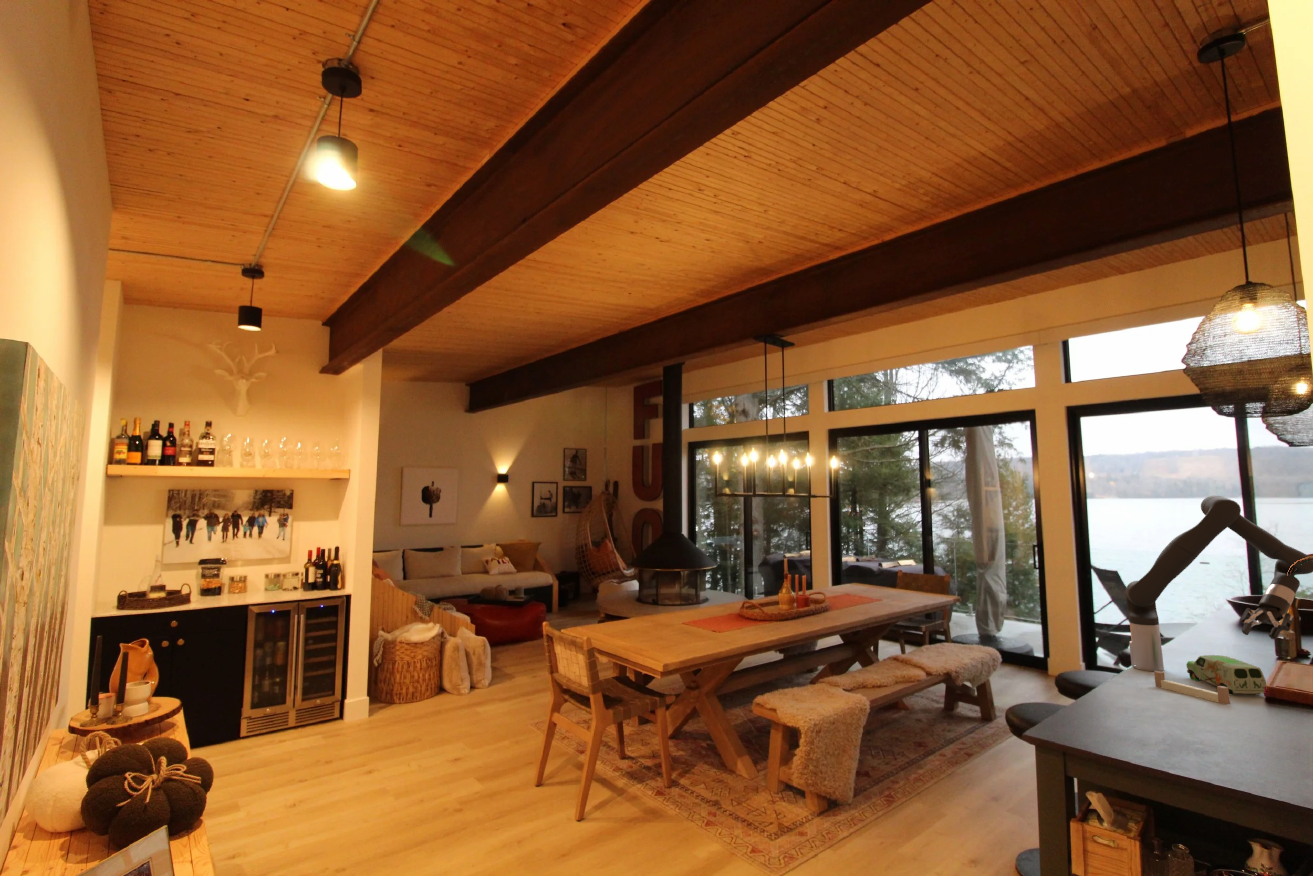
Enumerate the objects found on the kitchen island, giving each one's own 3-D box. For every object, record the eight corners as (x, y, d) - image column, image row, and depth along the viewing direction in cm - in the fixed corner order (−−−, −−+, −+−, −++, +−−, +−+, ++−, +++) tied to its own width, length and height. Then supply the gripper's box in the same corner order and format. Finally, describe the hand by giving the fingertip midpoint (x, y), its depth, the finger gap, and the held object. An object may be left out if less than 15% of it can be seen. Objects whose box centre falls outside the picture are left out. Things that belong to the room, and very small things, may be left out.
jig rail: (1155, 686, 227) (1154, 671, 228) (1159, 685, 228) (1158, 671, 228) (1225, 704, 206) (1223, 688, 207) (1230, 703, 207) (1228, 687, 207)
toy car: (1218, 677, 235) (1214, 649, 236) (1270, 698, 210) (1266, 667, 212) (1185, 677, 236) (1182, 649, 238) (1234, 698, 212) (1230, 667, 213)
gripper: (1248, 591, 239) (1229, 625, 235) (1293, 595, 225) (1274, 632, 222) (1261, 604, 240) (1242, 638, 236) (1307, 609, 226) (1288, 646, 222)
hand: (1257, 635), depth 229 cm, fingers open, 8 cm apart
